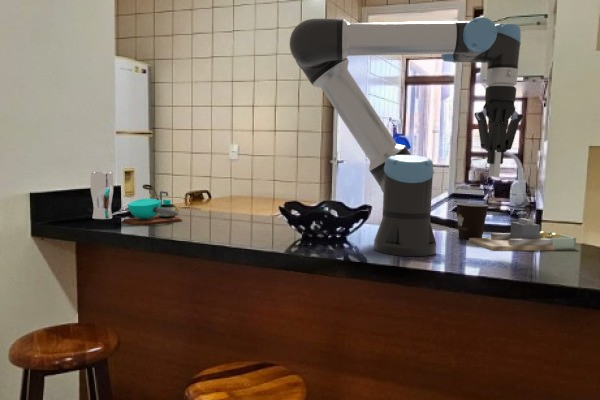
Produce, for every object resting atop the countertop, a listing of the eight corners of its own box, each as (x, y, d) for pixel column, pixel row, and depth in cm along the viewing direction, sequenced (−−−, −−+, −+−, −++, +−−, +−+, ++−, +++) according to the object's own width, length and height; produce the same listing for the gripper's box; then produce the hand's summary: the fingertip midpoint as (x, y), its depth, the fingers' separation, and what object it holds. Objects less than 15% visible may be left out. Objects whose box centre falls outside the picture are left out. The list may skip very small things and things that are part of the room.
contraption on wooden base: (192, 223, 168) (192, 176, 167) (143, 229, 154) (143, 177, 153) (165, 218, 177) (165, 173, 175) (117, 223, 163) (116, 174, 162)
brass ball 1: (538, 242, 146) (533, 233, 148) (542, 246, 148) (537, 236, 150) (549, 237, 144) (543, 227, 146) (553, 240, 146) (547, 231, 148)
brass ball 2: (562, 246, 144) (557, 241, 142) (551, 246, 146) (546, 241, 144) (564, 235, 145) (559, 230, 143) (552, 236, 147) (547, 231, 145)
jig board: (492, 251, 135) (493, 240, 135) (468, 242, 147) (469, 232, 147) (554, 250, 139) (555, 240, 138) (526, 241, 150) (527, 232, 150)
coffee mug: (487, 242, 148) (490, 206, 147) (456, 240, 150) (458, 205, 149) (482, 235, 159) (484, 202, 158) (452, 233, 161) (454, 201, 160)
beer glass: (89, 220, 167) (88, 173, 165) (93, 217, 174) (92, 171, 172) (112, 220, 168) (111, 173, 167) (115, 217, 175) (114, 172, 174)
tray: (552, 249, 140) (552, 238, 139) (528, 242, 150) (529, 232, 149) (575, 249, 141) (576, 238, 141) (550, 242, 151) (551, 231, 151)
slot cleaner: (521, 243, 140) (523, 220, 140) (509, 239, 146) (511, 217, 145) (538, 243, 141) (540, 220, 141) (526, 239, 147) (527, 217, 146)
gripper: (485, 83, 132) (478, 176, 135) (532, 86, 135) (524, 178, 137) (470, 86, 140) (464, 174, 142) (515, 89, 142) (507, 176, 145)
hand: (493, 176), depth 140 cm, fingers closed
